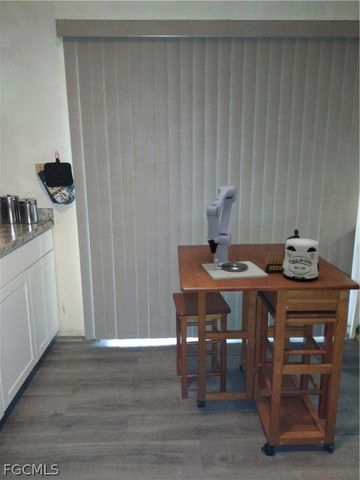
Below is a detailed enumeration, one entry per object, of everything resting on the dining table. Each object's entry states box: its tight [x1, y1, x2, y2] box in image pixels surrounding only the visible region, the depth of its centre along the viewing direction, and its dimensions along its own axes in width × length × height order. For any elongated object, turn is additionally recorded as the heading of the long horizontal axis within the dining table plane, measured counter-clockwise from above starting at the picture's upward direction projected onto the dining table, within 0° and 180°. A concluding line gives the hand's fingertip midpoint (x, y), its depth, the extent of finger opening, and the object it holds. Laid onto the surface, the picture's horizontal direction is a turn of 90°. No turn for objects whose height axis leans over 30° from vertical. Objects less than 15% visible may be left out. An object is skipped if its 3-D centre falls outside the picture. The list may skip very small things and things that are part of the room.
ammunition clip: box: [264, 251, 285, 273], centre depth 192 cm, size 11×2×12 cm, turn 92°
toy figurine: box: [284, 228, 301, 245], centre depth 225 cm, size 9×19×25 cm
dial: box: [213, 258, 248, 272], centre depth 197 cm, size 18×14×5 cm
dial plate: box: [201, 260, 269, 281], centre depth 197 cm, size 26×28×1 cm
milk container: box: [282, 237, 320, 281], centre depth 184 cm, size 17×17×18 cm
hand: (213, 253), depth 201 cm, fingers closed
